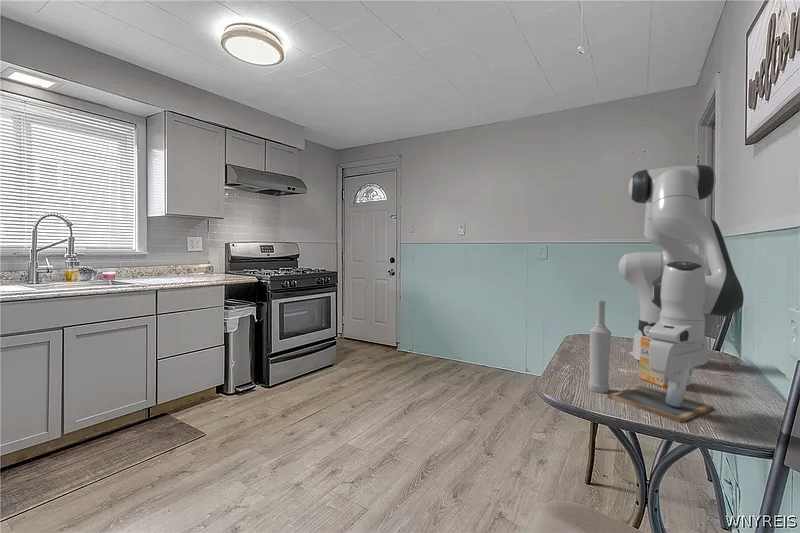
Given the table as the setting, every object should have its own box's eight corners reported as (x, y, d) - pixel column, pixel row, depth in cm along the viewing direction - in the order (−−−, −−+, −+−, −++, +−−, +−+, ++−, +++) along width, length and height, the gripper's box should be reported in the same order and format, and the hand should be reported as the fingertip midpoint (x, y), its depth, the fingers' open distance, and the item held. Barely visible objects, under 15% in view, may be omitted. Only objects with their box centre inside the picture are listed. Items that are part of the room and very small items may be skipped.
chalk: (669, 399, 97) (678, 353, 95) (684, 406, 94) (694, 358, 92) (662, 401, 95) (671, 354, 94) (677, 407, 92) (687, 359, 91)
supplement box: (637, 378, 118) (639, 336, 118) (649, 377, 120) (651, 335, 119) (663, 387, 110) (665, 342, 110) (676, 386, 112) (677, 341, 111)
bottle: (592, 385, 112) (594, 299, 111) (611, 390, 108) (614, 300, 107) (585, 389, 108) (587, 300, 107) (605, 394, 104) (608, 302, 103)
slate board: (641, 387, 110) (641, 385, 110) (713, 409, 95) (713, 405, 95) (607, 397, 102) (607, 394, 102) (680, 422, 87) (680, 418, 87)
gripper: (688, 323, 101) (686, 376, 101) (644, 331, 91) (642, 389, 91) (717, 328, 95) (715, 383, 96) (674, 336, 85) (671, 398, 86)
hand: (679, 386), depth 93 cm, fingers closed on chalk, 3 cm apart
